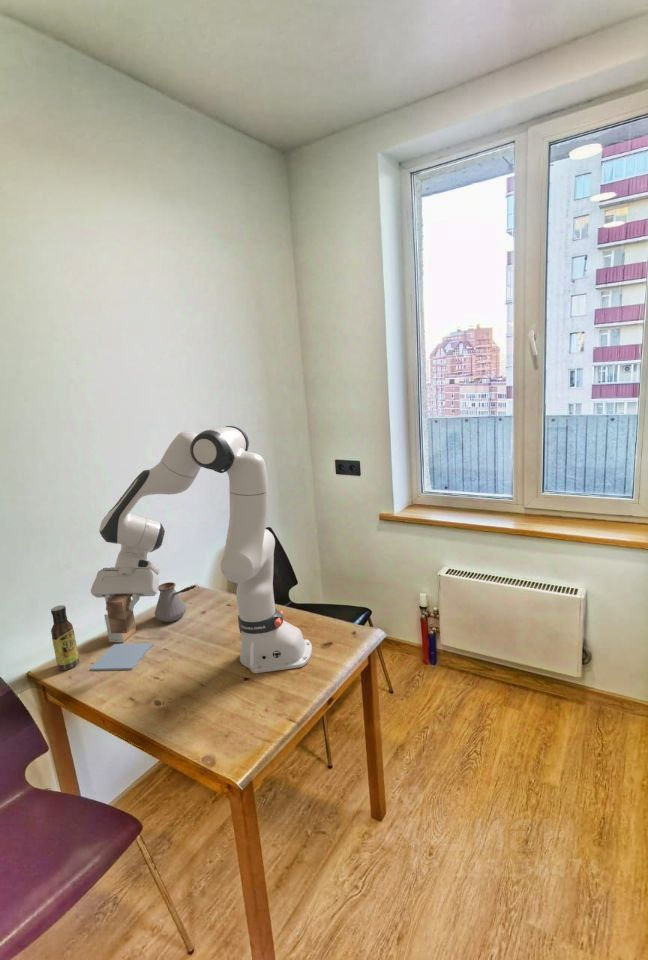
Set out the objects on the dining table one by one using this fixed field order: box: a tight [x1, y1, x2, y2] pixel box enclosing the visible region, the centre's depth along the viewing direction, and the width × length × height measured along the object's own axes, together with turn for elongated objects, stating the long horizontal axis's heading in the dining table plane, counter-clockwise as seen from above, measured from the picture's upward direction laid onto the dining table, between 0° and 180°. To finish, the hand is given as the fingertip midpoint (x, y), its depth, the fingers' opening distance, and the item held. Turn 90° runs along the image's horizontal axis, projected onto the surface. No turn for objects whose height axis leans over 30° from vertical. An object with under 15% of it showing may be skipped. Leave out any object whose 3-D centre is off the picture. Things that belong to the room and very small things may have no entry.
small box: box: [104, 612, 137, 643], centre depth 165 cm, size 8×6×10 cm
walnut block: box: [105, 594, 136, 633], centre depth 142 cm, size 5×5×10 cm
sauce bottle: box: [50, 604, 80, 671], centre depth 149 cm, size 6×6×20 cm
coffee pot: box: [154, 581, 200, 623], centre depth 174 cm, size 21×12×15 cm, turn 62°
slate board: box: [89, 642, 154, 671], centre depth 153 cm, size 14×14×1 cm
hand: (119, 610), depth 141 cm, fingers closed on walnut block, 5 cm apart
